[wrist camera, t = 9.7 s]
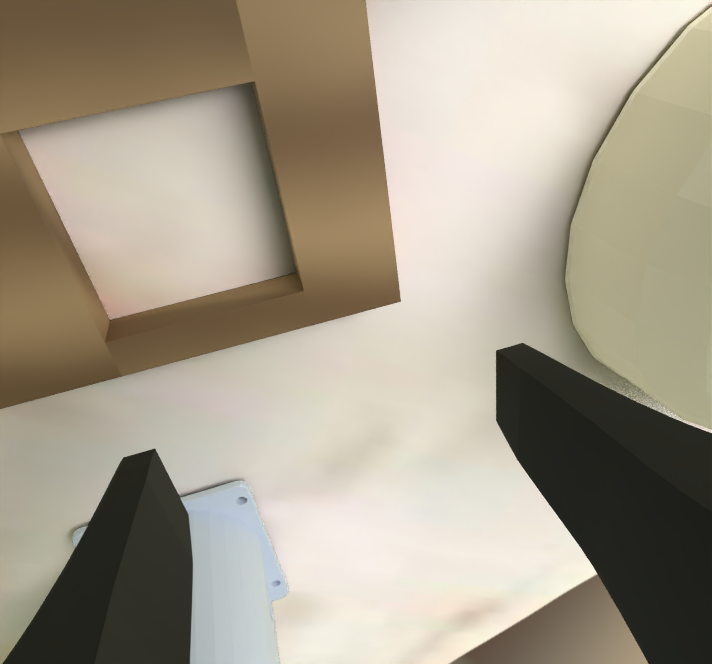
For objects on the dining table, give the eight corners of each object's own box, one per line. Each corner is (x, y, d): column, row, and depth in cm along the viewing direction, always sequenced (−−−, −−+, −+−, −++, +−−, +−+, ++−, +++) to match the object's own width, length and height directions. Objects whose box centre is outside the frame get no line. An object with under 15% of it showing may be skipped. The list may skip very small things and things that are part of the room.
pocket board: (388, 283, 22) (400, 301, 21) (-27, 392, 20) (-41, 419, 19) (340, -87, 15) (354, -93, 14) (-295, 21, 13) (-343, 26, 12)
